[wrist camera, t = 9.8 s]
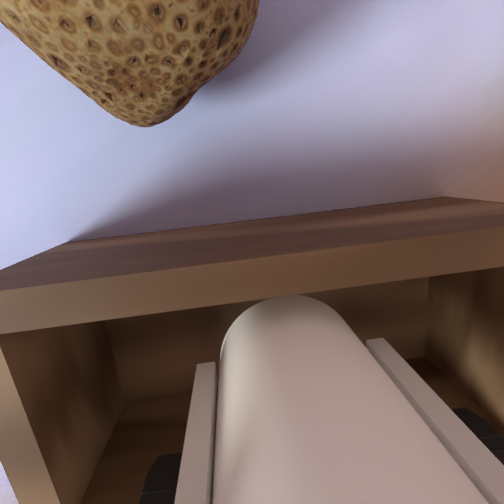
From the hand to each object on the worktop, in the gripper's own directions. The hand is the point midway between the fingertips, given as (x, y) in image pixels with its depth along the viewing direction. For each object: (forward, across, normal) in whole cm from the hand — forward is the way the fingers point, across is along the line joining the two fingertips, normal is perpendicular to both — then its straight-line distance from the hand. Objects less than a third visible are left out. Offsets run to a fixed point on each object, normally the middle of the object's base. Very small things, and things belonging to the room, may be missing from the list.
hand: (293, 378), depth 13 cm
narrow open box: (+7, 0, 0) cm, 7 cm away
